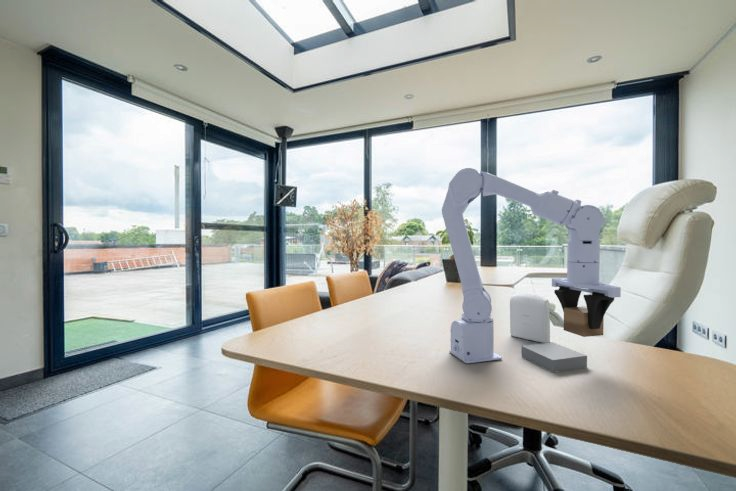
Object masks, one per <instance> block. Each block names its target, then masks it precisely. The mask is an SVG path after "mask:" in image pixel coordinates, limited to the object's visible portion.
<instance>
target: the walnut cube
mask: <svg viewBox="0 0 736 491" xmlns="http://www.w3.org/2000/svg"><path fill="white" fill-rule="evenodd" d="M604 317H605V316H604ZM604 317H603V320H602V323H601V326H600V329H590V328H589V325H588V310H587V306H586V307H585V306H577V307H566V308H564V312H563V331H565V332H568V333H571V334H574V335H577V336H580V337H582V338H588V337H598V336H604V320H605V318H604Z"/></svg>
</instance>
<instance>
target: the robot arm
mask: <svg viewBox="0 0 736 491" xmlns="http://www.w3.org/2000/svg"><path fill="white" fill-rule="evenodd" d="M481 193H482V197H487V196H493V195H497V196H499V197H502V198H504V199H508V200H511V201H514V202H517V203H519V204H521V205H522V204H523V205H525V206H528V207H529V208H530V210H531V213H532V214H533V215H535V216H536V217H540V218H542V219H544V220H547V221H550V222H552V223H554V224H556V225H559V226H563V225H564V226H565V228H566V229H567V230H568V231H567V232H568V233H567V234H568V237H567V256H566V258H567V259H566V260H567V261H566V262H567V264H566V265H567V266H566V270H567V271H566V278H562V277H561V278H560V277H553V278H551V287H554V288H558V289H554V295H555V296H556V298H557V299H558V301H559V303H560V305H561V308H562V310H563V313H564V308H566V307H578V304H579V300H580V297H581V293H582V292H583V293H584V292H585V293H590V294H583V299H584V303H585V305H586V307H587V310H588V325H589V328H590V329H600V326H601V323H602V320H603V317H605V315H606V312H607V310H608V309H609V308H610V306H611V304H612V303H613V302H614V301H615V298H621V293H622V290H621V287H620V286H614V285H610V284H605V283H602V282H600V264H601V263H600V261H601V260H600V259H601V258H600V256H601V254H600V253H601V248H600V247H601V240H600V234H601V233H600V230H601V229H602V228H603V226H604V225H605V223H606V217H604V214H603V212H602V211H600V209H599V208H598V207H597V206H594V205H591V204H586V205H585V204H584V205H582V200H580V199H575V200H573V199H570V198H568V197H566V196H565V197H564V196H562V195H559V191H558V190H555V189H553V190H551V191H549V190H542V191H541V192H536V191H532V190H530V189H528V188H525V187H523V186H521V185H519V184H516V183H515V182H512V181H509V180H506V179H504V178H501V177H500V176H498V175H494V174H492V173H489V172H486V171H482V170H480V171H478V170H477V169H475V168H472V167H466V168H462V169H460V170H459V171H458V172H456V174H455V175H454V176H453V177H452V179H451V181H449V183H448V188H447V192H446V195H445V199H444V200H443V204H442V207H441V215H442V217H443V222H444V225H445V229H446V233H447V236H448V237H447V238H448V240H449V244H450V247H451V252H452V255H453V258H454V261H455V265H456V268H457V273H458V276H459V280H460V286H461V292H462V296H463V297H462V298H463V302H462V308H461V309H462V312H463V313H462V314H461V318H459V319H456V320H453V321H452V323H451V324H450V349H449V350H448V351H449V353H451V354H452V355H453V356H455V357H456V358H458V359H459V360H460V361H462V362H463V363H465V364H474V363H482V362H490V361H497V360H502V359H503V358H502V356H501V355H499V354H498V353H496V352H495V351H494V346H495V344H494V340H495V339H494V317H493V316H492V315H491V314H492V312H493V308H492V299H491V295H490V294H489V292H488V291H487V290H486V289H485V287H484V285H483V282H482V278H481V275H480V272H479V268H478V265H477V261H476V258H475V254H474V250H473V246H472V244H471V240H470V237H469V233H468V230H467V226H466V222H465V219H464V218H465V217H464V213H465V211H466V210H467V208H468V207H469V205H470V204H471V203H472V202H473V201H475V199H477V198H478V197H479V196H480V195H481Z"/></svg>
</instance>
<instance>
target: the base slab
mask: <svg viewBox="0 0 736 491" xmlns="http://www.w3.org/2000/svg"><path fill="white" fill-rule="evenodd" d="M521 358H523V359H525V360H527V361H529V362H531V363H532V364H535V365H537V366H539V367H540V368H543V369H545V370H547V371H549V370H550V371H549V372H551V373H557V372H556V371H559V372H565V370H566V371H572V370H579V369H585V368H584V367H587V368H588V355H586V354H583V353H582V352H578V351H576V350H573V349H570V348H569V347H566V346H564V345H561V344H559V343H556V342H553V341H552V342H551V341H550V342H549V343H535V344H527V345H521Z"/></svg>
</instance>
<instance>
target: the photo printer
mask: <svg viewBox="0 0 736 491" xmlns="http://www.w3.org/2000/svg"><path fill="white" fill-rule="evenodd" d="M550 309H551V308H550V300H549V299H547V298H545V297H543V296H541V295H536V294H531V293H520V294H515V295H512V296H511V297H510V299H509V328H510V330H509V332H510V336H511V337H515V338H519V339H523V340H528V341H534V342H537V343H541V344H543V343H551V320H550V318H551V315H550V314H551V313H550Z"/></svg>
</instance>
